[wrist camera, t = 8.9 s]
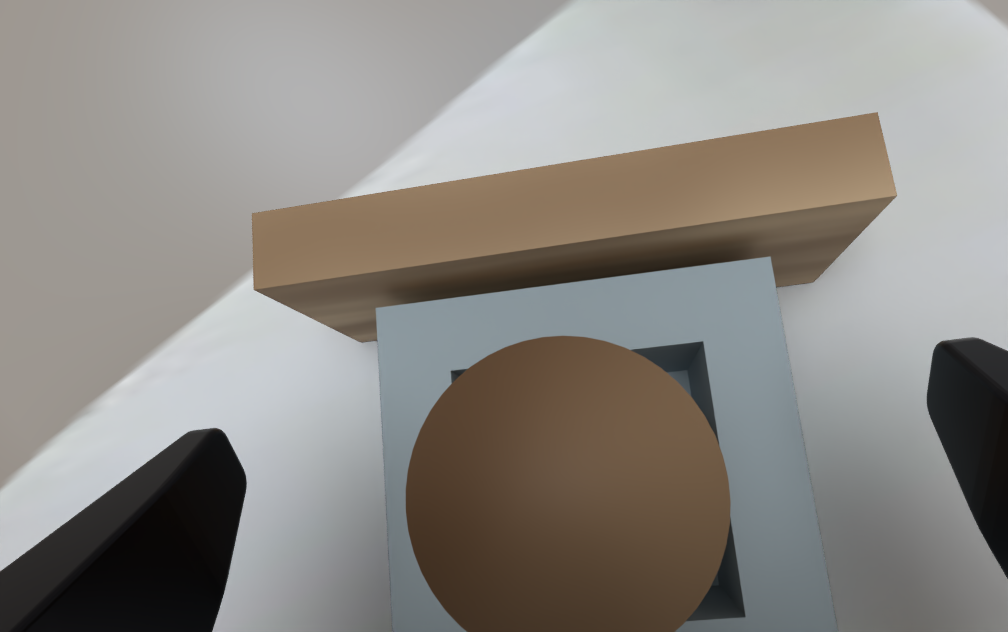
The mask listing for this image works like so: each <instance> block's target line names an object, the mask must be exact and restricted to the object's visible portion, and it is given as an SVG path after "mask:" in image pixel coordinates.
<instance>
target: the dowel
mask: <svg viewBox="0 0 1008 632" xmlns="http://www.w3.org/2000/svg"><path fill="white" fill-rule="evenodd" d="M730 505H731V500H730V490H729V480H728V475H727V471H726V466H725V462H724V458H723V455H722V452H721V449H720V447H719V444H718V441H717V439H716V436H715V434H714V432H713V430H712V428H711V426H710V425H709V423H708V421H707V419H706V417H705V415H704V414H703V412H702V411H701V410H700V408H699V407H698V405H697V404H696V402H695V401H694V400H693V398H692V397H691V396H690V395H689V394H688V393H687V392H686V391H685V389H684V388H683V387H682V386H681V385H680V384H679V383H678V382H677V381H676V380H675V379H674V378H672V377H671V376H670V375H669V374H668V373H667V372H665V371H664V370H663V369H662V368H660V367H659V366H657V365H656V364H654V363H653V362H651V361H650V360H648V359H647V358H645V357H643V356H641V355H639V354H637V353H635V352H633V351H631V350H629V349H627V348H625V347H622V346H619V345H616V344H613V343H610V342H607V341H603V340H598V339H593V338H588V337H579V336H550V337H541V338H536V339H531V340H526V341H522V342H519V343H516V344H513V345H510V346H507V347H504V348H502V349H500V350H498V351H496V352H494V353H492V354H490V355H488V356H486V357H485V358H483V359H482V360H480V361H479V362H477V363H476V364H474V365H472V366H471V367H470V368H468V369H467V370H466V371H465V372H464V373H463V374H461V375H460V376H459V377H458V378H457V379H456V380H455V381H454V382H453V383H452V384H451V385H450V386H449V387H448V388H447V389H446V390H445V392H444V393H443V394H442V395H441V396H440V398H439V399H438V401H437V402H436V403H435V405H434V406H433V408H432V409H431V411H430V412H429V414H428V416H427V418H426V420H425V422H424V423H423V425H422V427H421V429H420V432H419V434H418V437H417V439H416V442H415V445H414V447H413V451H412V455H411V459H410V463H409V467H408V473H407V482H406V517H407V525H408V532H409V536H410V540H411V544H412V548H413V552H414V555H415V557H416V560H417V562H418V565H419V567H420V570H421V573H422V575H423V576H424V578H425V580H426V582H427V584H428V586H429V587H430V589H431V591H432V593H433V594H434V595H435V597H436V598H437V600H438V601H439V602H440V604H441V605H442V607H443V608H444V609H445V611H446V612H447V613H448V614H449V615H450V616H451V617H452V618H453V619H454V620H455V621H456V622H457V623H458V624H459V625H460V626H461V627H462V628H463V629H464V630H466V631H467V632H675V631H676V630H677V629H678V628H680V627H681V626H682V625H683V624H684V623H685V621H686V620H687V619H688V618H689V617H690V616H691V615H692V613H693V612H694V611H695V610H696V609H697V608H698V606H699V605H700V603H701V601H702V600H703V598H704V597H705V595H706V594H707V592H708V591H709V589H710V587H711V585H712V583H713V581H714V579H715V576H716V574H717V572H718V570H719V568H720V564H721V561H722V558H723V555H724V552H725V548H726V544H727V538H728V532H729V526H730Z"/></svg>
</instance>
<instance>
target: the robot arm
mask: <svg viewBox="0 0 1008 632" xmlns="http://www.w3.org/2000/svg"><path fill="white" fill-rule="evenodd" d="M927 407H928V411H929V415H930V418H931V420H932V422H933V425H934V427H935V429H936V432H937V434H938V436H939V438H940V441H941V443H942V445H943V448H944V450H945V452H946V455H947V457H948V459H949V462H950V464H951V466H952V469H953V471H954V473H955V476H956V478H957V480H958V483H959V485H960V487H961V490H962V492H963V494H964V496H965V499H966V501H967V503H968V506H969V508H970V510H971V512H972V515H973V517H974V519H975V521H976V523H977V525H978V527H979V529H980V531H981V533H982V535H983V537H984V538H985V540H986V542H987V544H988V546H989V547H990V549H991V551H992V553H993V554H994V556H995V558H996V560H997V561H998V563H999V565H1000V566H1001V568H1002V570H1003V572H1004V573H1005V575H1006V577H1007V578H1008V351H1007V350H1004V349H1002V348H1000V347H998V346H995V345H993V344H991V343H988V342H986V341H984V340H981V339H979V338H973V337H971V338H962V339H954V340H946V341H941V342H940V343H938V344H937V345H936V347H935V349H934V351H933V356H932V363H931V370H930V377H929V383H928V390H927ZM246 485H247V482H246V475H245V472H244V469H243V467H242V465H241V463H240V461H239V459H238V457H237V455H236V453H235V451H234V449H233V448H232V446H231V444H230V442H229V440H228V438H227V436H226V434H225V433H224V432H223V431H222V430H220V429H217V428H210V429H202V430H194V431H190V432H188V433H186V434H185V435H183V436H182V437H181V438H179V439H178V440H176V441H175V442H174V443H172V444H171V445H170V446H168V447H167V448H166V449H164V450H163V451H162V452H160V453H159V454H158V455H156V456H155V457H154V458H152V459H151V460H150V461H148V462H147V463H146V464H144V465H143V466H142V467H140V468H139V469H137V470H136V471H135V472H133V473H132V474H131V475H129V476H128V477H127V478H125V479H124V480H123V481H121V482H120V483H119V484H117V485H116V486H115V487H113V488H112V489H111V490H109V491H108V492H107V493H105V494H104V495H103V496H101V497H100V498H98V499H97V500H96V501H94V502H93V503H92V504H90V505H89V506H88V507H86V508H85V509H84V510H82V511H81V512H80V513H78V514H77V515H76V516H74V517H73V518H72V519H70V520H69V521H68V522H66V523H65V524H64V525H62V526H61V527H59V528H58V529H57V530H55V531H54V532H53V533H51V534H50V535H49V536H47V537H46V538H45V539H43V540H42V541H41V542H39V543H38V544H37V545H35V546H34V547H33V548H31V549H30V550H29V551H27V552H26V553H25V554H23V555H22V556H20V557H19V558H18V559H16V560H15V561H14V562H12V563H11V564H10V565H8V566H7V567H6V568H4V569H3V570H2V571H0V632H212V630H213V627H214V624H215V621H216V618H217V615H218V611H219V608H220V605H221V601H222V598H223V595H224V591H225V587H226V583H227V579H228V575H229V570H230V565H231V560H232V555H233V551H234V546H235V541H236V536H237V532H238V527H239V522H240V517H241V512H242V508H243V503H244V498H245V493H246Z"/></svg>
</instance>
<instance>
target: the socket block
mask: <svg viewBox="0 0 1008 632" xmlns="http://www.w3.org/2000/svg"><path fill="white" fill-rule="evenodd" d="M376 323H377V342H378V361H379V381H380V400H381V419H382V439H383V458H384V477H385V496H386V516H387V535H388V554H389V574H390V593H391V612H392V631H393V632H467V631H466V630H464V629H463V628H462V627H461V626H460V625H459V624H458V623H457V622H456V621H455V620H454V619H453V618H452V617H451V616H450V615H449V614H448V613H447V612H446V611H445V609H444V608H443V607H442V605H441V604H440V602H439V601H438V600H437V598H436V597H435V595H434V594H433V593H432V591H431V589H430V587H429V586H428V584H427V582H426V580H425V578H424V576H423V575H422V573H421V570H420V567H419V565H418V562H417V560H416V557H415V555H414V552H413V548H412V544H411V540H410V536H409V532H408V525H407V517H406V482H407V473H408V467H409V463H410V459H411V455H412V451H413V447H414V445H415V442H416V439H417V437H418V434H419V432H420V429H421V427H422V425H423V423H424V422H425V420H426V418H427V416H428V414H429V412H430V411H431V409H432V408H433V406H434V405H435V403H436V402H437V401H438V399H439V398H440V396H441V395H442V394H443V393H444V392H445V390H446V389H447V388H448V387H449V386H450V385H451V384H452V383H453V382H454V381H455V380H456V379H457V378H458V377H459V376H460V375H461V374H463V373H464V372H465V371H466V370H467V369H468V368H470V367H471V366H472V365H474V364H476V363H477V362H479V361H480V360H482V359H483V358H485V357H486V356H488V355H490V354H492V353H494V352H496V351H498V350H500V349H502V348H504V347H507V346H510V345H513V344H516V343H519V342H522V341H526V340H531V339H536V338H541V337H550V336H579V337H588V338H593V339H598V340H603V341H607V342H610V343H613V344H616V345H619V346H622V347H625V348H627V349H629V350H631V351H633V352H635V353H637V354H639V355H641V356H643V357H645V358H647V359H648V360H650V361H651V362H653V363H654V364H656V365H657V366H659V367H660V368H662V369H663V370H664V371H665V372H667V373H668V374H669V375H670V376H671V377H672V378H674V379H675V380H676V381H677V382H678V383H679V384H680V385H681V386H682V387H683V388H684V389H685V391H686V392H687V393H688V394H689V395H690V396H691V397H692V398H693V400H694V401H695V402H696V404H697V405H698V407H699V408H700V410H701V411H702V412H703V414H704V415H705V417H706V419H707V421H708V423H709V425H710V426H711V428H712V430H713V432H714V434H715V436H716V439H717V441H718V444H719V447H720V449H721V452H722V455H723V458H724V462H725V466H726V471H727V475H728V480H729V490H730V500H731V505H730V526H729V532H728V538H727V544H726V548H725V552H724V555H723V558H722V561H721V564H720V568H719V570H718V572H717V574H716V576H715V579H714V581H713V583H712V585H711V587H710V589H709V591H708V592H707V594H706V595H705V597H704V598H703V600H702V601H701V603H700V605H699V606H698V608H697V609H696V610H695V611H694V612H693V613H692V615H691V616H690V617H689V618H688V619H687V620H686V621H685V623H684V624H683V625H682V626H681V627H680V628H678V629H677V630H676V631H675V632H838V629H837V623H836V617H835V612H834V606H833V601H832V595H831V590H830V584H829V579H828V573H827V568H826V562H825V556H824V551H823V545H822V540H821V534H820V529H819V523H818V518H817V512H816V506H815V501H814V495H813V490H812V484H811V479H810V473H809V468H808V462H807V456H806V451H805V445H804V440H803V434H802V429H801V423H800V418H799V412H798V407H797V401H796V395H795V390H794V384H793V379H792V373H791V368H790V362H789V357H788V351H787V345H786V340H785V334H784V329H783V323H782V318H781V312H780V307H779V301H778V295H777V290H776V284H775V279H774V273H773V268H772V262H771V257H763V258H755V259H748V260H740V261H732V262H725V263H717V264H709V265H702V266H694V267H686V268H679V269H671V270H663V271H656V272H648V273H640V274H633V275H625V276H617V277H610V278H602V279H594V280H587V281H579V282H571V283H564V284H556V285H548V286H541V287H533V288H525V289H518V290H510V291H502V292H495V293H487V294H479V295H472V296H464V297H456V298H449V299H441V300H433V301H426V302H418V303H410V304H403V305H395V306H388V307H380V308H376Z"/></svg>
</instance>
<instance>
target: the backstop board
mask: <svg viewBox="0 0 1008 632" xmlns="http://www.w3.org/2000/svg"><path fill="white" fill-rule="evenodd" d="M896 196H897V193H896V189H895V184H894V180H893V176H892V172H891V167H890V163H889V159H888V155H887V150H886V146H885V142H884V138H883V133H882V129H881V125H880V121H879V116H878V112H877V113H871V114H864V115H858V116H852V117H846V118H840V119H833V120H827V121H821V122H815V123H809V124H802V125H796V126H790V127H784V128H778V129H772V130H765V131H759V132H753V133H747V134H741V135H734V136H728V137H722V138H716V139H710V140H703V141H697V142H691V143H685V144H679V145H672V146H666V147H660V148H654V149H648V150H642V151H635V152H629V153H623V154H617V155H611V156H604V157H598V158H592V159H586V160H580V161H573V162H567V163H561V164H555V165H549V166H543V167H536V168H530V169H524V170H518V171H512V172H505V173H499V174H493V175H487V176H481V177H474V178H468V179H462V180H456V181H450V182H443V183H437V184H431V185H425V186H419V187H413V188H406V189H400V190H394V191H388V192H382V193H375V194H369V195H363V196H357V197H351V198H344V199H338V200H332V201H327V202H320V203H314V204H307V205H301V206H295V207H289V208H283V209H276V210H270V211H264V212H258V213H252V232H253V233H252V235H253V279H254V290H255V291H257V292H259V293H261V294H263V295H265V296H268V297H270V298H272V299H274V300H276V301H278V302H280V303H282V304H284V305H286V306H288V307H290V308H292V309H294V310H296V311H298V312H300V313H302V314H304V315H306V316H308V317H310V318H312V319H314V320H316V321H318V322H320V323H322V324H324V325H326V326H328V327H330V328H332V329H334V330H336V331H338V332H340V333H342V334H344V335H346V336H349V337H351V338H353V339H355V340H357V341H359V342H368V341H375V340H377V323H376V308H380V307H388V306H395V305H403V304H410V303H418V302H426V301H433V300H441V299H449V298H456V297H464V296H472V295H479V294H487V293H495V292H502V291H510V290H518V289H525V288H533V287H541V286H548V285H556V284H564V283H571V282H579V281H587V280H594V279H602V278H610V277H617V276H625V275H633V274H640V273H648V272H656V271H663V270H671V269H679V268H686V267H694V266H702V265H709V264H717V263H725V262H732V261H740V260H748V259H755V258H763V257H771V262H772V268H773V273H774V279H775V284H776V287H781V286H789V285H796V284H804V283H811V282H814V281H815V280H816V279H817V278H818V277H819V276H820V275H821V274H822V273H823V272H824V271H825V270H826V269H827V268H828V267H829V266H830V265H831V264H832V263H833V262H834V260H835V259H836V258H837V257H838V256H839V255H840V254H841V253H842V252H843V251H844V250H845V249H846V248H847V247H848V246H849V245H850V244H851V243H852V242H853V241H854V240H855V239H856V238H857V237H858V236H859V235H860V234H861V232H862V231H863V230H864V229H865V228H866V227H867V226H868V225H869V224H870V223H871V222H872V221H873V220H874V219H875V218H876V217H877V216H878V215H879V214H880V213H881V212H882V211H883V210H884V209H885V208H886V207H887V206H888V204H889V203H890V202H891V201H892V200H893V199H894V198H895V197H896Z"/></svg>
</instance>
